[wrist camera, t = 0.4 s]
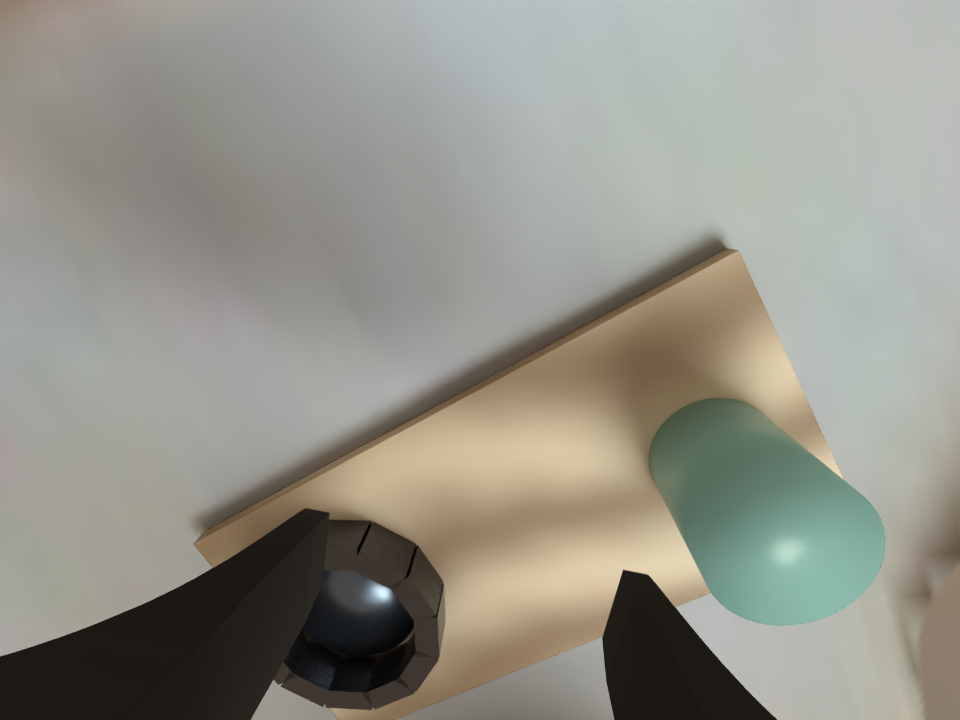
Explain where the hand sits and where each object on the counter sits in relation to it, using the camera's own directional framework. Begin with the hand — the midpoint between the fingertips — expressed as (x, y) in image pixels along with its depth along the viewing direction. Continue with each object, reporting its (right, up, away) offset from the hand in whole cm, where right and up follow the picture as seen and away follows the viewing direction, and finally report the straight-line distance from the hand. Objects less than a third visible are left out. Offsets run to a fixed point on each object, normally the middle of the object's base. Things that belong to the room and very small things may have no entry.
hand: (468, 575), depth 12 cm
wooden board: (+2, -2, +11) cm, 11 cm away
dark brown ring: (-5, -6, +11) cm, 14 cm away
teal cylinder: (+10, +1, +8) cm, 13 cm away
